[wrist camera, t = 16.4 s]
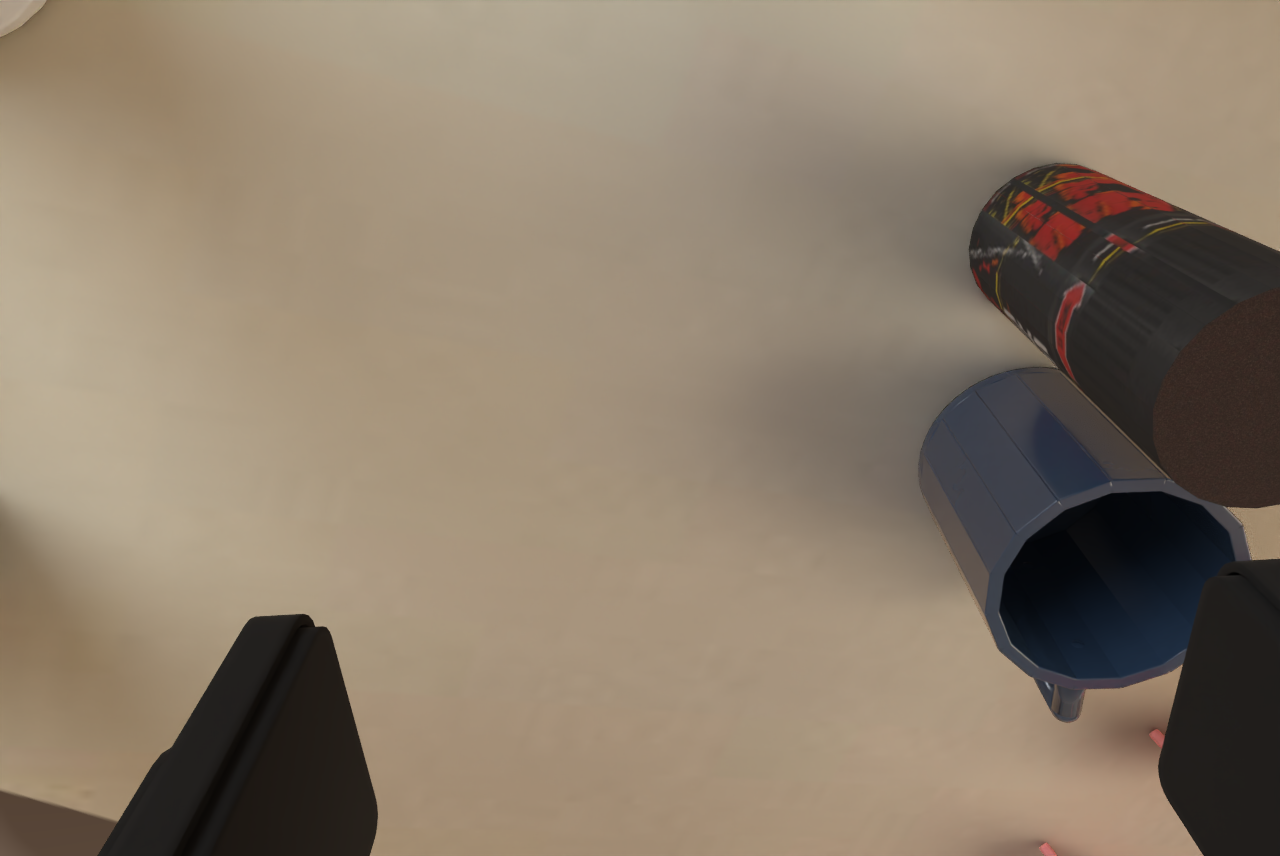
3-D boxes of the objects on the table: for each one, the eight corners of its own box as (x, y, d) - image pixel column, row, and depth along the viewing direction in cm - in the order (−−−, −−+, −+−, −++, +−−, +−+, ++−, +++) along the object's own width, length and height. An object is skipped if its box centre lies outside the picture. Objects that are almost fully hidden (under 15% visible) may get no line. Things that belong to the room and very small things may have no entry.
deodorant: (1160, 204, 35) (1473, 345, 21) (1064, 338, 37) (1291, 541, 24) (1028, 135, 34) (1268, 237, 20) (939, 277, 36) (1100, 453, 23)
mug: (925, 371, 38) (1001, 484, 29) (1139, 362, 38) (1279, 474, 29) (906, 604, 43) (966, 758, 34) (1094, 598, 43) (1202, 752, 34)
